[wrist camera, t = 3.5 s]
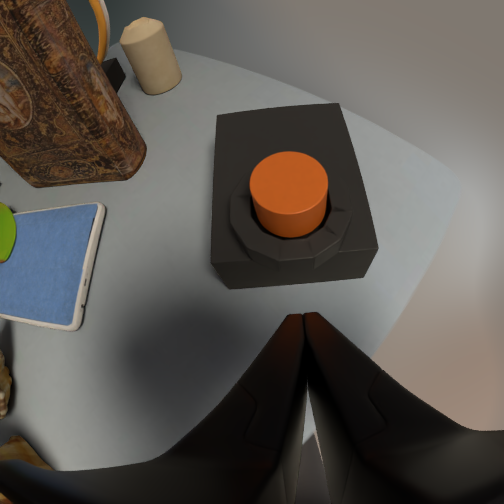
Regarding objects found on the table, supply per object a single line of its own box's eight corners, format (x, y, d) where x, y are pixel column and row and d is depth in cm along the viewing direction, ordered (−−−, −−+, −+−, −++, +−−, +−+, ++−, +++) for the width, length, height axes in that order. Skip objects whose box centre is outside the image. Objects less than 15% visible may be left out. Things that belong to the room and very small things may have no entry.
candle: (181, 88, 35) (156, 23, 26) (141, 100, 35) (110, 39, 26) (183, 66, 37) (161, 7, 28) (146, 78, 38) (120, 22, 29)
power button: (330, 234, 17) (334, 210, 15) (257, 241, 17) (250, 218, 15) (320, 176, 19) (321, 148, 16) (254, 182, 19) (248, 155, 17)
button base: (365, 290, 22) (389, 251, 16) (228, 301, 23) (201, 267, 17) (335, 144, 28) (339, 85, 21) (229, 154, 29) (211, 98, 23)
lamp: (41, 133, 37) (-63, -13, 9) (63, 95, 41) (-20, -41, 12) (130, 108, 35) (26, -97, 6) (149, 70, 38) (72, -108, 10)
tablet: (109, 205, 29) (103, 198, 27) (82, 334, 23) (73, 331, 22) (0, 220, 31) (-6, 215, 30) (-25, 312, 26) (-33, 309, 25)
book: (152, 139, 32) (48, -62, 9) (136, 179, 30) (0, -36, 7) (50, 154, 35) (-52, 23, 12) (33, 188, 32) (-86, 57, 10)
